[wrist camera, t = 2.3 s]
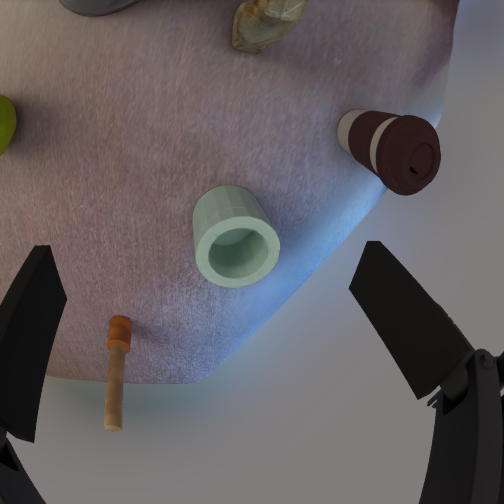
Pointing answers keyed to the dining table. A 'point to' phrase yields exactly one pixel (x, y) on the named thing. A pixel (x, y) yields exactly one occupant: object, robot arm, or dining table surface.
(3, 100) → the fruit
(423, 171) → the coffee cup
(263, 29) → the sculpture
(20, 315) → the robot arm
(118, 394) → the orange-tipped wooden dowel
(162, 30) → the dining table surface
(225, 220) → the jar
